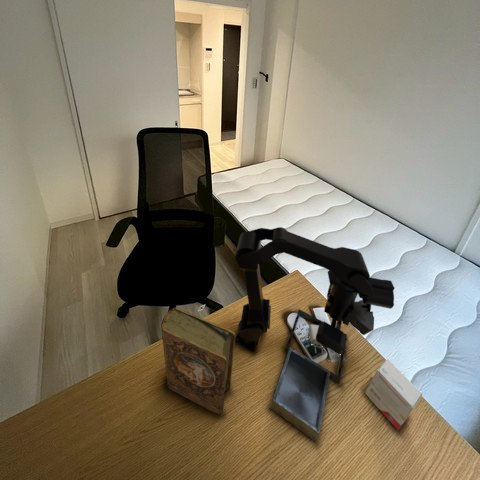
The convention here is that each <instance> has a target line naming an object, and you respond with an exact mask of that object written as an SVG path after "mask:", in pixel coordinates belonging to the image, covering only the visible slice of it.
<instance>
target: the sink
mask: <svg viewBox="0 0 480 480" xmlns="http://www.w3.org/2000/svg"><path fill="white" fill-rule="evenodd" d="M289 347H290V348H289V351H288V353H287V355H286V358H285V360H284V363H283V367H282V370H281V373H280V376H279V378H278V381H277V385H276V387H275V391H274V395H273V396H272V397H273V398H272V401H271V404H270V409H271V410H272V411H273V412H275V413H276V414H277V415H278V416H280V417H282V419H284V420H286V421H287V423H290V424H291V425H292V426H294V427H295V428H296V429H297V430H299V431H300V432H302V433H303V434H304V435H305V436H307V437H308V438H310V439H311V440H312V441H314V442H317V440H318V438H319V435H320V434H321V427H322V422H323V415H324V410H325V405H326V399H327V393H328V388H329V381H330V379H329V377H330V371H331V370H329V369H327V368H326V367H324V366H323V365H321V364H319V363H318V362H316V361H314V360H313V359H311V358H310V357H308V356H306V355H304V354H303V353H301V352H299V351H298V350H296V349H294V348H293V347H291V346H289ZM292 348H293V349H292ZM297 351H298V352H297ZM302 354H303V355H302ZM307 357H308V358H307ZM310 359H311V360H310ZM315 362H316V363H315ZM320 365H321V366H320ZM325 368H326V369H325Z"/></svg>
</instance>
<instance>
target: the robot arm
mask: <svg viewBox="0 0 480 480" xmlns="http://www.w3.org/2000/svg"><path fill="white" fill-rule="evenodd" d="M262 241H269V242H267V243H266V244H265V245H263V246H261V245H262ZM279 254H287V255H290V256H292V257H294V258H297V259H300V260H302V261H304V262H305V261H306V262H307V263H310V264H313V265H315V266H319V267H320V268H324V269H326V270H328V271H327V276H328V282H329V285H328V289H327V293H326V298H327V299H326V302H325V307H324V309H323V312H324V313H325V314H328V316H329V318H331V323H329V322H326V321H322V322H320V324H319V327H318V330H317V334H316V340H317V342H318V343H320V344H322V345H323V348H325V349H328V350H330V351H332V352H334V353H335V354H337V355H340V354H342V352H343V349H344V343H345V337H346V336H345V334H346V333H345V332H343V331H342V330H341V328H342V324H344V325H345V326H347V327H348V326H349V324H350V325H351V326H352V327H353V328H354V329H355V330H357V331H358V332H359V334H361V335H362V336H366V335H367V334H369V333H370V332H373V331H374V328H375V317H374V312H373V311H372V306H375V307H379V308H385V309H393V308H394V307H395V294H394V290H395V286H394V284H393V282H392V280H389V279H380V278H377V277H375V278H374V277H371V275H370V272H369V269H368V266H367V264H366V261H365V258H364V256H363V254H362V253H361V251H359V250H357V249H353V248H349V247H345V246H339V247H335V248H334V247H330V246H327V245H326V244H323V243H319V242H317V241H315V240H311V239H309V238H306V237H304V236H302V235H299V234H296V233H294V232H290V231H288V230H287V229H286V228H284V227H282V226H278V227H274V228H264V227H259V228H256V229H252V230H247V231H243V232H241V233H240V234H239V238H238V242H237V246H236V251H235V255H234V258H235V261H236V263H237V266H238V269H240V270H241V271H243V276H244V283H245V289H246V296H247V302H248V303H246V304H243V307H242V312H241V316H240V317H241V318H240V321H238V329H237V334H236V335H235V343H238V344H239V345H240V346H242V347H243V348H245V349H246V350H248V351H249V352H251V353H254V352H255V350H256V348H257V347H258V346H259V345H260V342H261V340H262V336H263V334H266V333H267V332H268V330H270V329H271V313H272V312H271V311H272V306H271V300H270V298H269V299H267V298H264V294H263V286H262V277H261V269H260V265H261V264H264V263H267V261H269V260H270V259H272V258H273V257H275V256H277V255H279ZM357 297H359V298H360V300H359V301H357V299H356V298H357ZM344 333H345V334H344ZM346 338H347V337H346Z"/></svg>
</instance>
